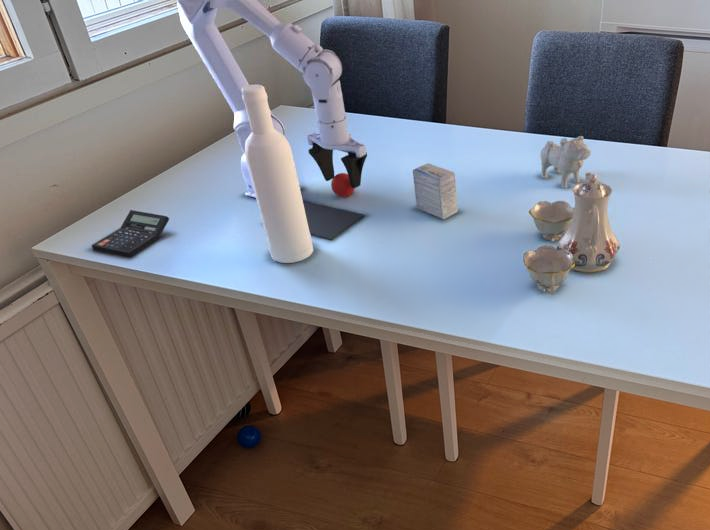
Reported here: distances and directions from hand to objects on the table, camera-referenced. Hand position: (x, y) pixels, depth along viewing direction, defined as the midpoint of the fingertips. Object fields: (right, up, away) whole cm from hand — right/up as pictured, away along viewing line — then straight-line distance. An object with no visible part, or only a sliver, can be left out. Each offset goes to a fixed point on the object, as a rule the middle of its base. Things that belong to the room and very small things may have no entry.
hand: (342, 182), depth 141 cm
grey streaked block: (+20, -7, -5) cm, 22 cm away
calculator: (-39, -14, -10) cm, 43 cm away
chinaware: (+45, -20, -22) cm, 54 cm away
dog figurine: (+48, +1, +4) cm, 48 cm away
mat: (-4, -9, -6) cm, 12 cm away
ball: (0, -2, +2) cm, 3 cm away
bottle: (-6, -18, -17) cm, 25 cm away
